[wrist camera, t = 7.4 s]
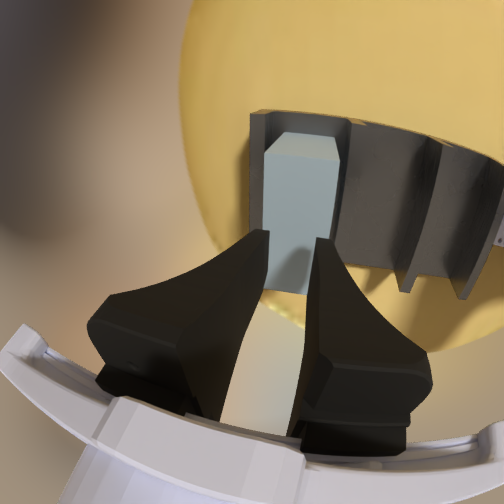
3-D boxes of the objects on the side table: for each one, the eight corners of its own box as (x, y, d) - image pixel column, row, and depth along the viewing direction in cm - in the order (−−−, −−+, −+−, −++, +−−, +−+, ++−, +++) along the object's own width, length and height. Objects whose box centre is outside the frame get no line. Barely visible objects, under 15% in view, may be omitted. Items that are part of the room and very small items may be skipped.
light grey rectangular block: (334, 137, 15) (339, 161, 10) (322, 238, 19) (317, 296, 14) (284, 131, 15) (264, 153, 10) (279, 232, 19) (260, 287, 14)
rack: (491, 157, 12) (517, 172, 10) (453, 271, 18) (466, 299, 15) (262, 109, 16) (248, 113, 13) (259, 242, 21) (247, 269, 18)
